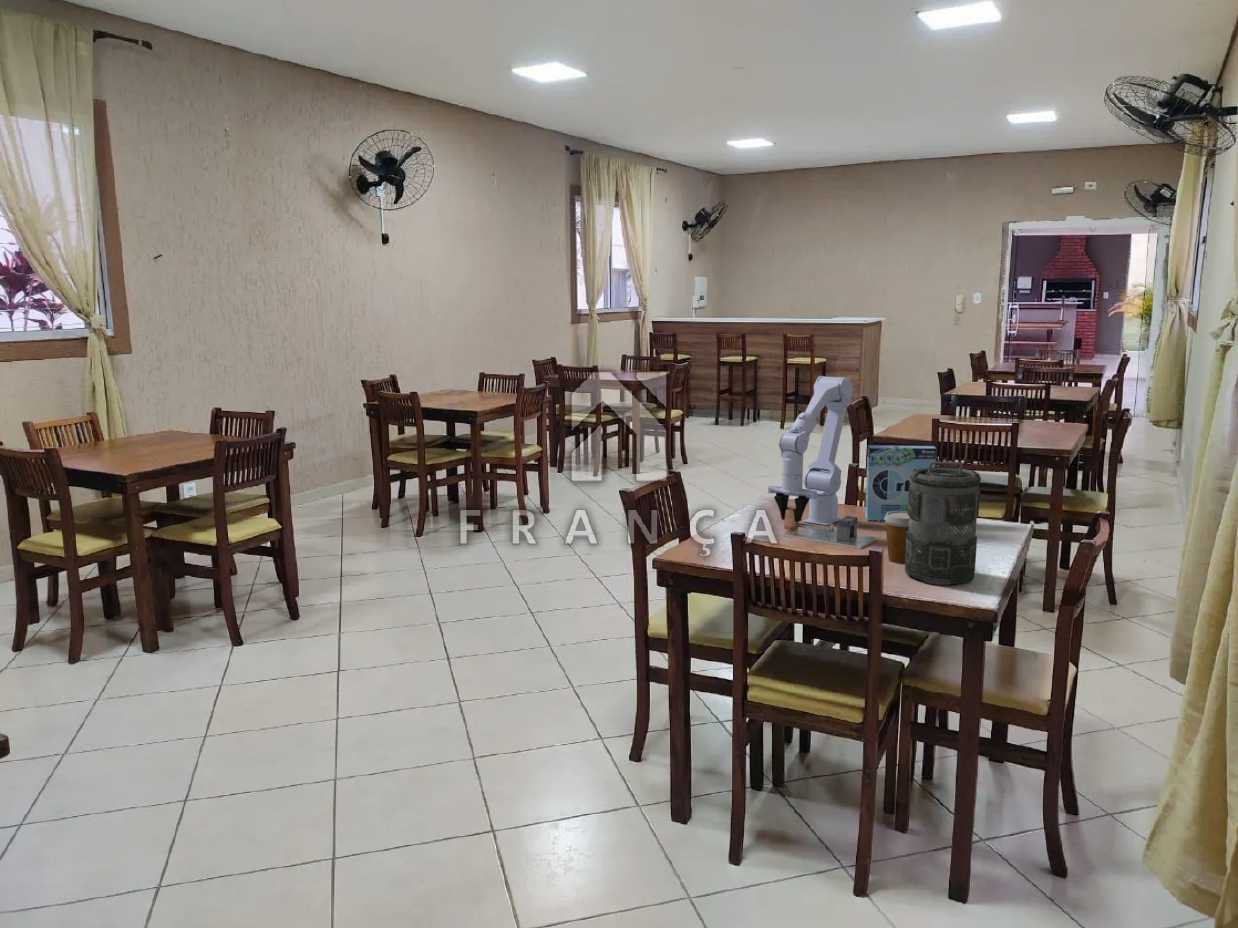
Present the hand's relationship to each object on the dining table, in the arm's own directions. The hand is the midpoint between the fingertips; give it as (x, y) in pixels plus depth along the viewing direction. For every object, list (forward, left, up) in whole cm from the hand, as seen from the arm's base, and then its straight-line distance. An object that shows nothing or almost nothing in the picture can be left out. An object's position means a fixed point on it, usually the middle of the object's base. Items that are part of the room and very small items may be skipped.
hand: (791, 520), depth 248 cm
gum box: (-32, +20, -4) cm, 38 cm away
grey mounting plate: (0, +12, -3) cm, 12 cm away
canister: (+18, +48, -4) cm, 51 cm away
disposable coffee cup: (+10, +36, -4) cm, 38 cm away
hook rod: (0, +5, -2) cm, 6 cm away
